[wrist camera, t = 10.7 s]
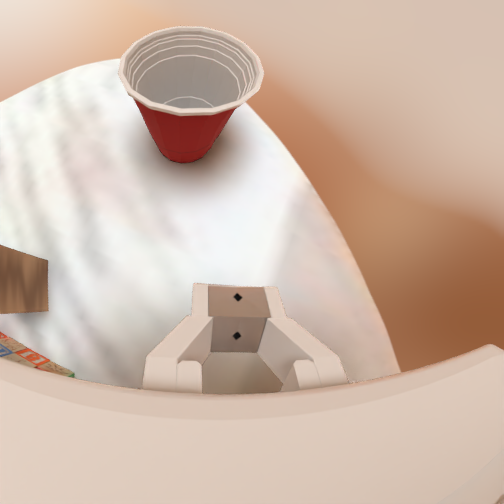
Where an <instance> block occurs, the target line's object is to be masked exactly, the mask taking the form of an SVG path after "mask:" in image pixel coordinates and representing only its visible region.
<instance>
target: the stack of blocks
mask: <svg viewBox="0 0 504 504" xmlns="http://www.w3.org/2000/svg"><path fill="white" fill-rule="evenodd" d="M0 357H2V358H5V359H8V360H11V361H14V362H17V363H20V364H23V365H26V366H29V367H32V368H36V369H39V370H43V371H46V372H50V373H54V374H58V375H62V376H66V377H71V378H74V372H72V371H70V370H68V369H66V368H63V367H61V366H59V365H57V364H55V363H53V362H51V361H50V360H49V359H47V358H45V357H43V356H41V355H40V354H38V353H36V352H34V351H32V350H31V349H28V348H27V347H25V346H24V345H22V344H20V343H19V342H17V341H15V340H14V339H12V338H10V337H7V336H6V335H4V334H2V333H1V332H0Z"/></svg>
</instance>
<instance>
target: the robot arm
mask: <svg viewBox="0 0 504 504" xmlns="http://www.w3.org/2000/svg"><path fill="white" fill-rule="evenodd" d="M210 352H252V353H257V354H258V355H259V356H260V358H261V359H262V360H263V361H264V362H265V364H266V365H267V366H268V367H269V368H270V369H271V371H272V372H273V373H274V374H275V375H276V376H277V377H278V379H279V380H280V381H281V382H282V383H283V386H282V388H281V390H280V392H274V393H256V394H202V369H201V366H202V365H203V363H204V362H205V360H206V359H207V357H208V356H209V354H210ZM0 504H504V350H502V349H500V348H498V347H497V346H495V345H492V344H488V345H485V346H483V347H481V348H478V349H476V350H473V351H470V352H468V353H465V354H462V355H459V356H456V357H454V358H451V359H448V360H445V361H441V362H438V363H435V364H432V365H428V366H425V367H422V368H418V369H414V370H411V371H407V372H403V373H399V374H395V375H390V376H386V377H381V378H377V379H372V380H367V381H362V382H356V383H350V384H349V382H348V379H347V377H346V374H345V372H344V369H343V367H342V364H341V362H340V359H339V357H338V355H336V354H335V353H334V352H332V351H331V350H330V349H329V348H327V347H326V346H325V345H324V344H322V343H321V342H320V341H319V340H317V339H316V338H315V337H314V336H312V335H311V334H310V333H309V332H308V331H306V330H305V329H304V328H303V327H301V326H300V325H299V324H298V323H296V322H295V321H294V320H293V319H292V318H287V316H286V313H285V310H284V307H283V303H282V300H281V297H280V294H279V291H278V288H277V287H252V286H232V285H218V284H202V283H194V284H193V294H192V312H191V316H189V315H187V316H186V317H185V318H184V319H183V320H182V321H181V322H180V323H179V324H178V325H177V326H176V327H175V328H174V329H173V330H172V331H171V332H170V333H169V334H168V335H167V336H166V337H165V338H164V339H163V340H162V341H161V342H160V343H159V344H158V345H157V346H156V347H155V348H154V349H153V350H152V351H151V352H150V353H149V354H148V355H147V356H146V363H145V369H144V377H143V384H142V389H134V388H126V387H119V386H113V385H106V384H101V383H95V382H90V381H85V380H80V379H75V378H71V377H66V376H62V375H58V374H54V373H50V372H46V371H43V370H39V369H36V368H32V367H29V366H26V365H23V364H20V363H17V362H14V361H11V360H8V359H5V358H2V357H0Z"/></svg>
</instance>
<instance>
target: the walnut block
mask: <svg viewBox="0 0 504 504" xmlns="http://www.w3.org/2000/svg"><path fill="white" fill-rule="evenodd" d="M42 311H48V261H47V260H44V259H41V258H38V257H35V256H32V255H29V254H26V253H23V252H20V251H17V250H14V249H11V248H8V247H5V246H2V245H0V314H8V313H26V312H42Z"/></svg>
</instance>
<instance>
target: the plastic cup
mask: <svg viewBox="0 0 504 504" xmlns="http://www.w3.org/2000/svg"><path fill="white" fill-rule="evenodd" d="M118 75H119V77H120V79H121V81H122V83H123V85H124V87H125V89H126V91H127V93H128V95H129V96H131V97H132V98H133V99H134V101H135V103H136V104H137V106H138V108H139V110H140V112H141V114H142V116H143V119H144V121H145V123H146V125H147V127H148V130H149V132H150V134H151V135H152V137H153V139H154V141H155V143H156V144H157V146H158V148H159V150H160V151H161V153H162V154H163V155H164V156H165V157H167V158H168V159H170V160H171V161H175V162H179V163H188V162H193V161H195V160H198V159H200V158H202V157H203V156H204V155H205V154H206V153H207V152H208V150H209V149H210V148H211V147H212V145H213V143H214V141H215V139H216V138H217V137H218V136H219V134H220V133H221V131H222V129H223V128H224V126H225V124H226V123H227V121H228V120H229V118H230V116H231V115H232V113H233V112H234V110H235V109H236V108H237V107H239V106H241V105H242V104H243V103H244V102H245V101H246V100H248V99H249V98H250V97H251V96H252V95H254V94H255V93H256V92H257V91H259V89H260V86H261V83H262V79H263V76H264V71H263V68H262V65H261V62H260V59H259V57H258V56H257V55H256V54H255V52H254V51H253V50H252V49H251V48H250V47H249V46H248V45H247V44H246V43H245V42H243V41H241V40H239V39H237V38H235V37H233V36H232V35H230V34H228V33H226V32H222V31H219V30H214V29H211V28H206V27H200V26H177V27H172V28H167V29H163V30H158V31H154V32H152V33H150V34H148V35H146V36H144V37H142V38H141V39H139V40H137V41H135V42H134V43H133V44H132V45H131V46H130V47H129V48H128V50H127V51H126V52H125V53H124V54H123V55H122V57H121V60H120V66H119V71H118Z"/></svg>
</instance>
